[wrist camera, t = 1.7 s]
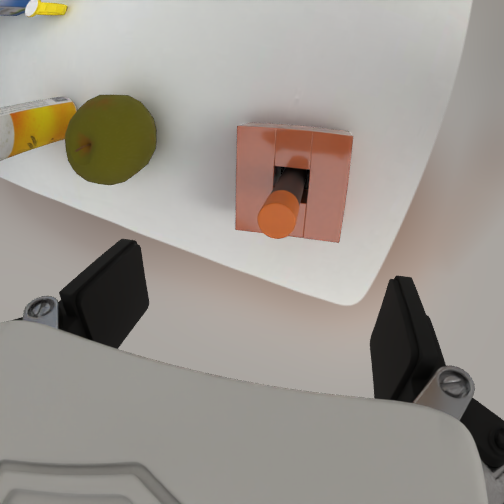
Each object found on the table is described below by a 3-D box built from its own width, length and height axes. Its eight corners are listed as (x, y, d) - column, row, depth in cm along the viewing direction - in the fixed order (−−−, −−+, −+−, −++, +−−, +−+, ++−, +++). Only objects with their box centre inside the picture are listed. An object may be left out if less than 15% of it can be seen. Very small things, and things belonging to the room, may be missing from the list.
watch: (45, 19, 28) (16, 17, 22) (50, 3, 26) (22, -1, 21) (69, 19, 27) (39, 16, 22) (76, 1, 26) (46, -4, 21)
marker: (308, 162, 31) (297, 205, 19) (306, 185, 33) (293, 241, 20) (284, 160, 32) (257, 200, 20) (283, 183, 33) (256, 236, 21)
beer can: (50, 134, 36) (-32, 162, 23) (55, 94, 33) (-31, 111, 20) (78, 141, 36) (-9, 173, 23) (84, 98, 33) (-8, 116, 20)
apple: (187, 138, 33) (134, 158, 23) (134, 186, 37) (78, 218, 28) (140, 75, 30) (76, 76, 21) (92, 128, 34) (30, 145, 25)
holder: (348, 131, 29) (353, 136, 25) (337, 223, 34) (339, 242, 29) (249, 122, 31) (237, 125, 26) (246, 212, 36) (235, 229, 31)
